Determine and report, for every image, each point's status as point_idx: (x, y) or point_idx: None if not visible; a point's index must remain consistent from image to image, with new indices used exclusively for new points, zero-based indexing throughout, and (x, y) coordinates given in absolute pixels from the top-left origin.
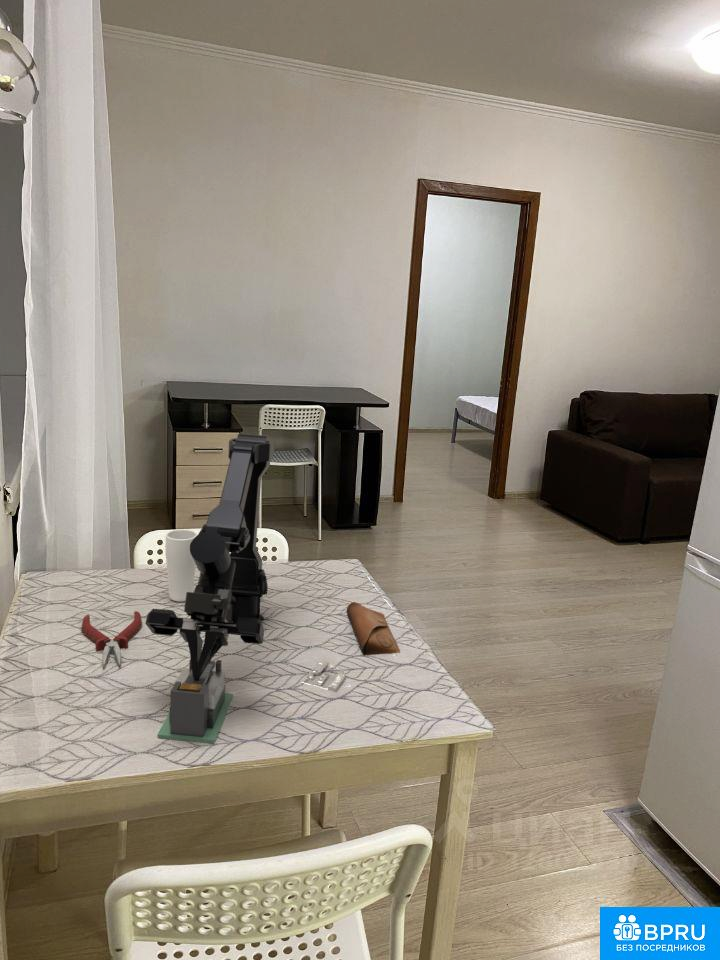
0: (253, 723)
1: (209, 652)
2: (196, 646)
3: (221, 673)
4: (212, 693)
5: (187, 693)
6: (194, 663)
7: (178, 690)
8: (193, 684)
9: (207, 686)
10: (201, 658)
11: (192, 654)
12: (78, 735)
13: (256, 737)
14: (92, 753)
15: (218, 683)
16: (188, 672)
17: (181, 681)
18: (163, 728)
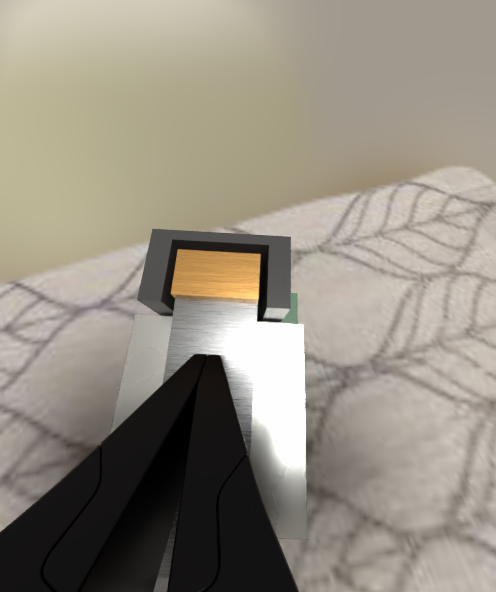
0: (79, 374)
1: (50, 499)
2: (181, 568)
3: None
4: (143, 326)
5: (220, 233)
6: (210, 400)
7: (259, 243)
8: (206, 292)
9: (141, 284)
10: (151, 432)
11: (229, 462)
12: (457, 290)
13: (77, 318)
14: (398, 241)
15: (120, 404)
16: (271, 493)
17: (281, 402)
18: (290, 315)
